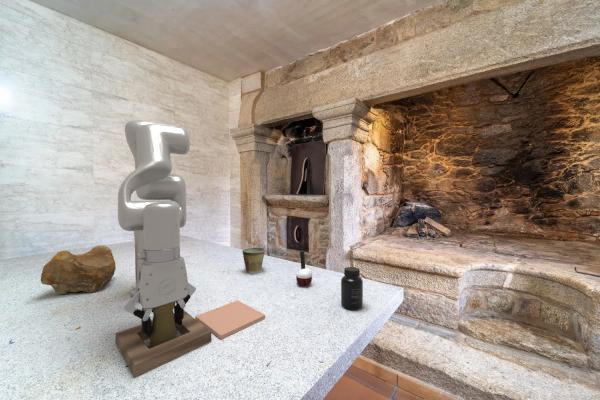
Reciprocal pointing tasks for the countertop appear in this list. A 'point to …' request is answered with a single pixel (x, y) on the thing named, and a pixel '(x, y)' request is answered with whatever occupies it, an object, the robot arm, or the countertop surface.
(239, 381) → the countertop surface
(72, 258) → the rough brown rock
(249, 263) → the ceramic cup
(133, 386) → the countertop surface
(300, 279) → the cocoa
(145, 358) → the frame
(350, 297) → the supplement bottle
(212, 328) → the terracotta tile
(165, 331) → the olive tall flared piece
